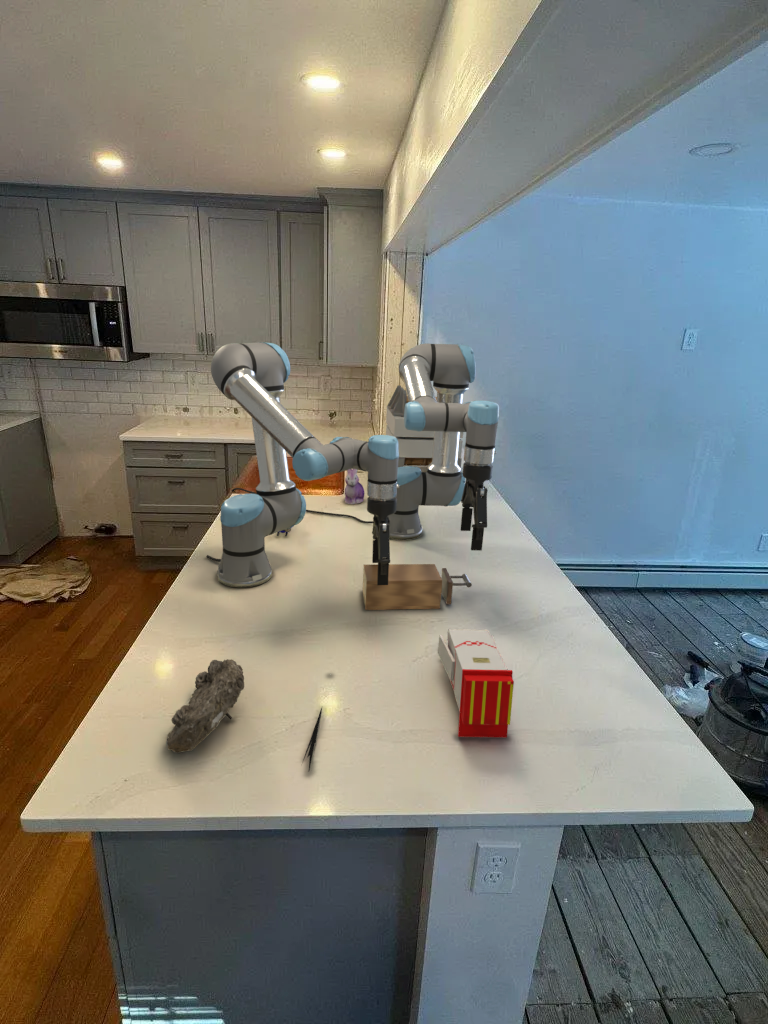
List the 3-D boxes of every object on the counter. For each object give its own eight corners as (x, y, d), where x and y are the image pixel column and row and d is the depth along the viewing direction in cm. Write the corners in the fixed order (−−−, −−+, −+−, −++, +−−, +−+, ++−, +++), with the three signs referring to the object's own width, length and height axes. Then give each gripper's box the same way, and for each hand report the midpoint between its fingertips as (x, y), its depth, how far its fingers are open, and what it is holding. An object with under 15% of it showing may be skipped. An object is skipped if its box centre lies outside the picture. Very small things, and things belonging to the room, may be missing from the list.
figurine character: (291, 542, 192) (296, 522, 205) (290, 522, 188) (296, 503, 202) (271, 542, 191) (278, 521, 205) (270, 522, 188) (277, 502, 201)
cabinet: (432, 591, 160) (435, 563, 157) (439, 608, 151) (442, 580, 148) (362, 592, 158) (363, 564, 155) (365, 610, 149) (366, 580, 146)
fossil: (192, 660, 117) (244, 628, 112) (224, 691, 120) (276, 661, 115) (142, 746, 98) (202, 712, 93) (182, 779, 101) (242, 748, 96)
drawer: (463, 588, 160) (466, 567, 158) (471, 604, 152) (474, 582, 150) (378, 589, 158) (379, 568, 155) (381, 605, 149) (382, 583, 147)
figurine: (348, 506, 225) (349, 469, 220) (338, 498, 233) (339, 463, 228) (369, 503, 229) (371, 467, 224) (359, 496, 237) (360, 461, 232)
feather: (331, 679, 122) (336, 673, 122) (307, 777, 96) (313, 769, 95) (324, 675, 122) (329, 669, 121) (298, 772, 95) (304, 764, 95)
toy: (488, 613, 130) (523, 677, 101) (484, 667, 133) (517, 744, 104) (435, 612, 130) (455, 676, 101) (432, 666, 133) (451, 743, 103)
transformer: (382, 463, 289) (386, 382, 275) (445, 464, 293) (451, 384, 279) (390, 482, 257) (394, 392, 243) (460, 483, 261) (468, 394, 247)
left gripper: (403, 513, 132) (400, 594, 139) (390, 483, 156) (388, 553, 163) (371, 513, 132) (369, 595, 139) (363, 483, 155) (362, 554, 162)
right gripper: (505, 476, 133) (496, 559, 140) (481, 451, 157) (474, 523, 164) (474, 476, 133) (466, 558, 140) (454, 451, 156) (448, 523, 163)
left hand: (379, 573), depth 151 cm, fingers open, 13 cm apart
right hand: (470, 539), depth 152 cm, fingers open, 13 cm apart
